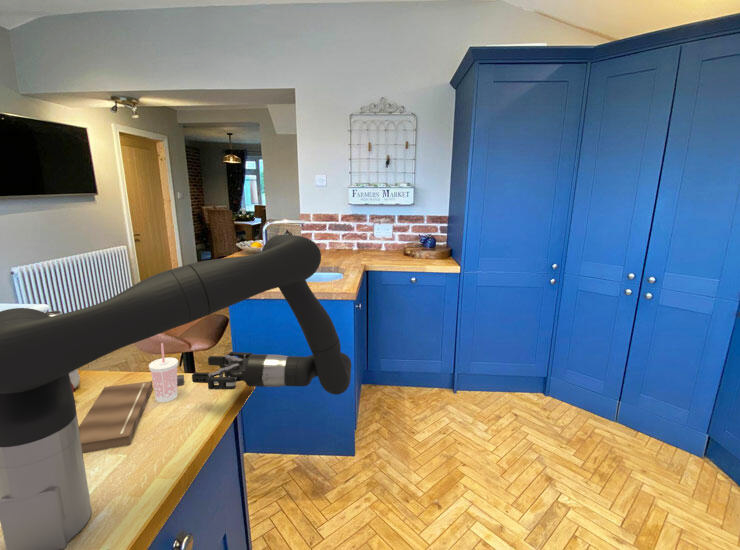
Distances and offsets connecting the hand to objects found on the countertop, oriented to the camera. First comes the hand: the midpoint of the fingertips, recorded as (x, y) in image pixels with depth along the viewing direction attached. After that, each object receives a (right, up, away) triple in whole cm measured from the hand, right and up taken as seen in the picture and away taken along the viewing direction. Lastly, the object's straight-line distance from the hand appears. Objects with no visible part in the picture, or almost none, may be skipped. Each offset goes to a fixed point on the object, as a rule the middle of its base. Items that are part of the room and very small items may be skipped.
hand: (201, 368), depth 86 cm
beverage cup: (-9, -7, +1) cm, 12 cm away
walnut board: (-12, -8, -5) cm, 16 cm away
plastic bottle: (-35, -6, +2) cm, 35 cm away
